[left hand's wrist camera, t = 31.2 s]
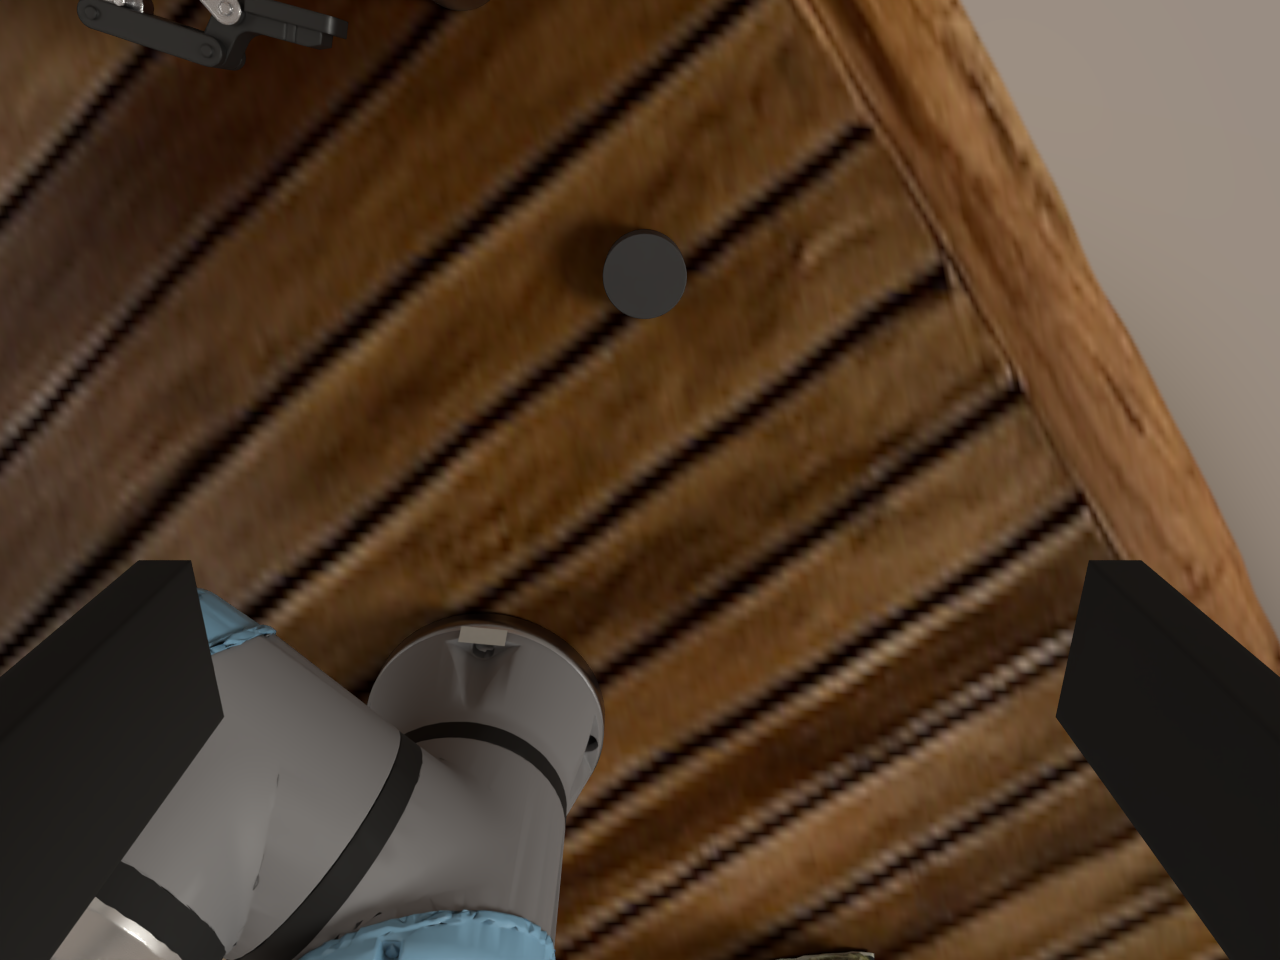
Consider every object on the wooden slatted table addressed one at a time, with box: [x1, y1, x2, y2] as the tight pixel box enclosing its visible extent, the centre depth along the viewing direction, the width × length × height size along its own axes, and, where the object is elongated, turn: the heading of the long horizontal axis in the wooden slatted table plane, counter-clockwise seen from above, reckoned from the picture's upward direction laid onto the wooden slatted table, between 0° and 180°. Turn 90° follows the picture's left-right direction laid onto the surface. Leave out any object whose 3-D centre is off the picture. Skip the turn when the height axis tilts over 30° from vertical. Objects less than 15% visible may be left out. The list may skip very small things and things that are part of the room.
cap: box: [603, 229, 687, 319], centre depth 46 cm, size 4×4×2 cm
